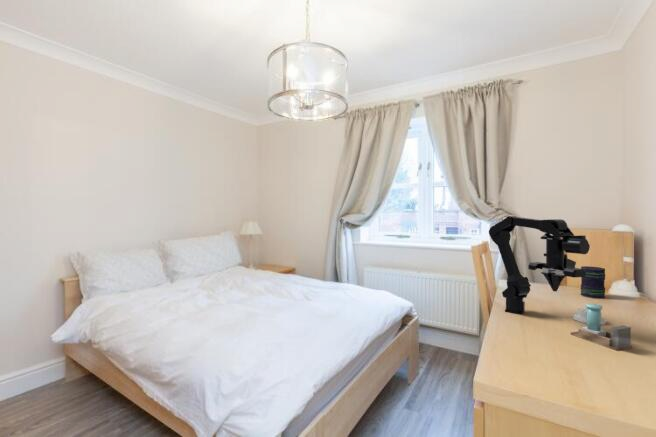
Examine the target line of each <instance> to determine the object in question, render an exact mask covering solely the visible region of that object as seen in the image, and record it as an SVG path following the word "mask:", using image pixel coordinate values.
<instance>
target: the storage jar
mask: <svg viewBox="0 0 656 437" xmlns="http://www.w3.org/2000/svg"><path fill="white" fill-rule="evenodd" d="M580 269H584V271H585V272H586V277H580V278H581V279H580V280H581V281H580V282H581V283H580V295H582V297H585V298H590V299H598V300H601V299H603V300H604V299H605V298H606V296H605V295H606V287H605V280H606V268H604V267H598V266H585V265H584V266H583V265H582V266H581V267H580Z"/></svg>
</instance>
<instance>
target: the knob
mask: <svg viewBox="0 0 656 437" xmlns="http://www.w3.org/2000/svg"><path fill="white" fill-rule="evenodd" d="M585 308H587V323H586V326H582V327H581V329H582V330H585V331H588V332H591V333H594V334H597V335H600V336H603V337H606V332H607V331H606V330H604V329H601V328H602V325H601V318H602V310H603V305H601V304H596V303H585Z"/></svg>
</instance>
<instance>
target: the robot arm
mask: <svg viewBox="0 0 656 437" xmlns="http://www.w3.org/2000/svg"><path fill="white" fill-rule="evenodd" d="M515 227H522V228H529V229H535V230H537V231H540V232H542V233H544V234H543V235H542V236H541V237H540V239H541V240H545V246H546V247H545V248H546V249H545V253H543V256H544V257H545V262H540V261H536V262H535V261H533V262H532V261H531V262H529V263H528V270H531V271H536V270H537V269H539V270H542V271H541V275H543V276H544V278H545V280H546V281H547V282H548V284H549V286H550V288H551V290H552V292H558V289H559V287H560V285H561V283H562V281H563V280H564V279H565V278H566V277H569V278H581V277H586V272H585V271H584V269H581V267H580V268H579V267H576V264H577V261H575V260H572V259H570V258H568V255H567V254H568V253H569V254H578V255H587V254H588V253H589V250H590V246H591V244H590V243H589V240H588V239H587V238H586V235H582V234H581V235H575V234H574V233H573V231H572V230H571V229H570V228H569V226H568V224H567V222H566V221H565V219H558V218H557V219H552V218H551V219H535V218H527V217H520V216H516V215H509V216H507V217H505V218H503V220H501V221H499V222H497V223H495V224H494V225H492V226H490V228H489V230H488V234H489V237H490V239H491V240H492V241H493V243H494V244H495V245H496V246H497V247H498V251H499V254H500V256H501V260H502V263H503V266H504V269H505V272H506V274H507V280H506V286H507V287H506V289H504V290H503V291H502V292H501V294H502V297H503V298H505V309H504V312H505V313H506V312H507V313H512V314H516V315H522V314H524V312H525V311H526V301H524V299H526V298H527V296H528V295H529V294H530V292H531V287H532V285H531V283H530V281H529V278H528V277H527V276H523V275H522V274H521V272H520V269H519V267H518V264H517V261H516V258H515V255H514V252H513V249H512V247H511V244H510V241H511V233H512V232H513V231H514V230H515ZM565 252H566V254H565Z"/></svg>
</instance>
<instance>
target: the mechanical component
mask: <svg viewBox="0 0 656 437" xmlns="http://www.w3.org/2000/svg"><path fill="white" fill-rule="evenodd" d="M576 310H577V311H576V313H574V314H573V315H572V318H573V320H575V321H577V322H580V323H584V324H587V307H580V308H577V309H576ZM606 322H607V321H606V320H605V319H604V318H603V317H601V326H602V325H606Z"/></svg>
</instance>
